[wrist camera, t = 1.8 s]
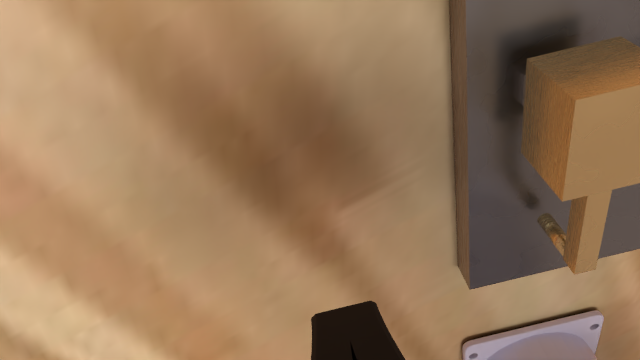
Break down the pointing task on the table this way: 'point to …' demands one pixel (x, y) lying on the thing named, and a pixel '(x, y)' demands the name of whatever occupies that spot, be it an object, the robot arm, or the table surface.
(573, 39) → the plate
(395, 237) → the table surface
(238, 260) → the table surface
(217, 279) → the table surface
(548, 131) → the brass slider
